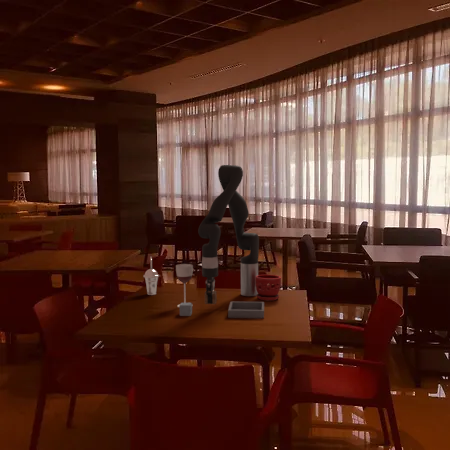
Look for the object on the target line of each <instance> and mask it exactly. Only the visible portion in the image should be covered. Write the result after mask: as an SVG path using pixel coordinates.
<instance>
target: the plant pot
mask: <svg viewBox="0 0 450 450" xmlns="http://www.w3.org/2000/svg"><path fill="white" fill-rule="evenodd" d="M255 281H256V290H257V292H258V294H257V295H256V298H257V299H258V300H261V301H265V302H268V301H269V302H270V301H272V302H273V301H276V300H278V299H279V298H280V294H279V293H280V290H281V284H282V277H281V276H280V275H275V274H258V275H257V276H256V279H255Z"/></svg>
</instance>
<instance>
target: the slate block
mask: <svg viewBox="0 0 450 450" xmlns="http://www.w3.org/2000/svg"><path fill="white" fill-rule="evenodd" d="M192 305H193V302H186V303H184V302H180V307H179V316H180V317H191V316H192V314H193V306H192Z"/></svg>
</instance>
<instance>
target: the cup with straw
mask: <svg viewBox="0 0 450 450" xmlns="http://www.w3.org/2000/svg"><path fill="white" fill-rule="evenodd" d="M149 258H150V268H149V269H147V270H146V271H145V273H144V274H143V278H144V279H145V284H146V293H147V295H149V296H155V295H157V285H158V280H159V277H160V274H158V273H159V272H158V271H157V270H156V269H154V268H153V257H152V256H150V257H149Z"/></svg>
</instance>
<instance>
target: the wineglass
mask: <svg viewBox="0 0 450 450" xmlns="http://www.w3.org/2000/svg"><path fill="white" fill-rule="evenodd" d="M193 268H194V265H193V264H192V263H181V264H177V265H175V272H176V278H177V279H178V281H180V282H181V283H182V284H183V303H187V301H186V300H187V299H186V298H187V297H186V295H187V294H186V292H187V291H186V283H189V281H191V279H192V277H193ZM180 304H181V303H180ZM180 304H177V308H180ZM192 307H193V304H192Z"/></svg>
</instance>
